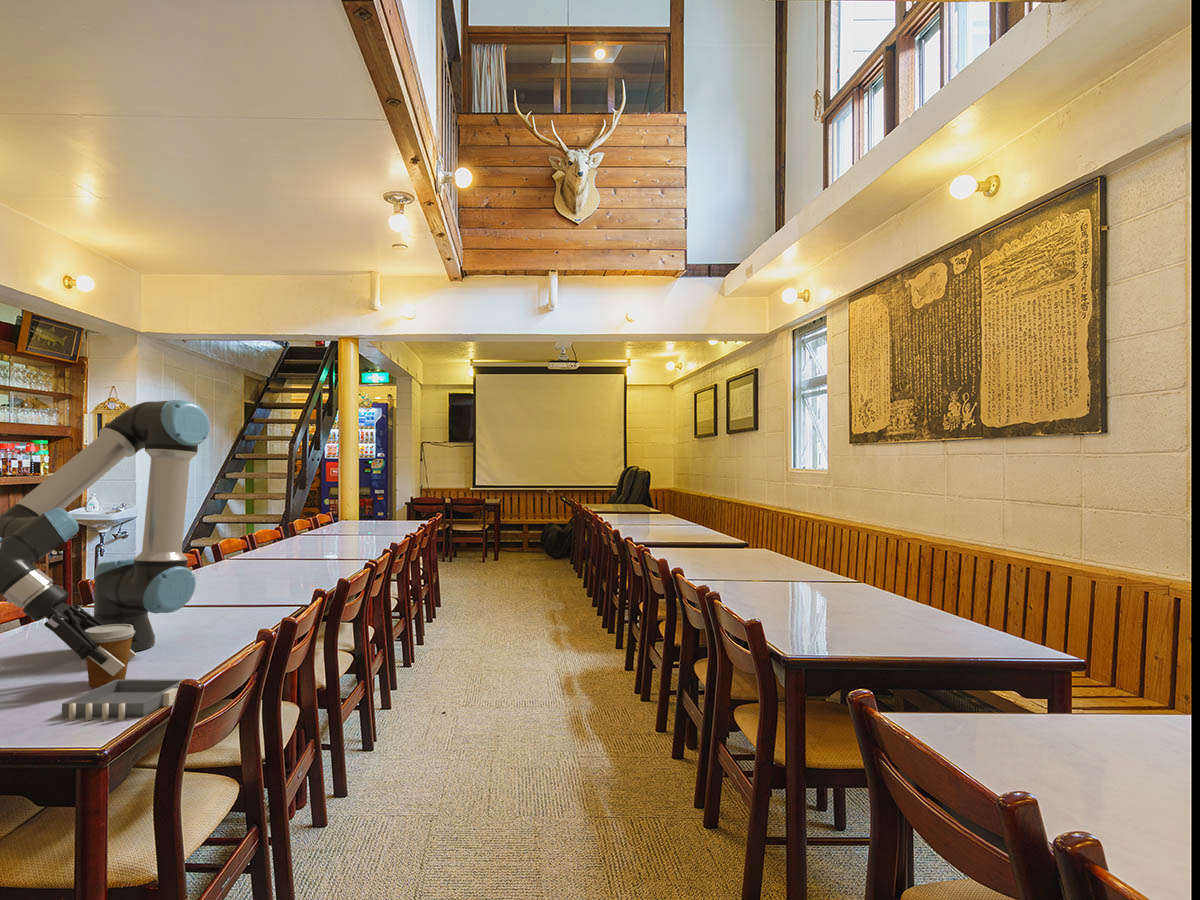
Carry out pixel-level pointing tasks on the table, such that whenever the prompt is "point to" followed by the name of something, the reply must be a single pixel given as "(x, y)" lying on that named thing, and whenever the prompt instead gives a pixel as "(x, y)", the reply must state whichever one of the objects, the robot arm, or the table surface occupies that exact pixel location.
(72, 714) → the grey tray
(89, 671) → the disposable coffee cup
